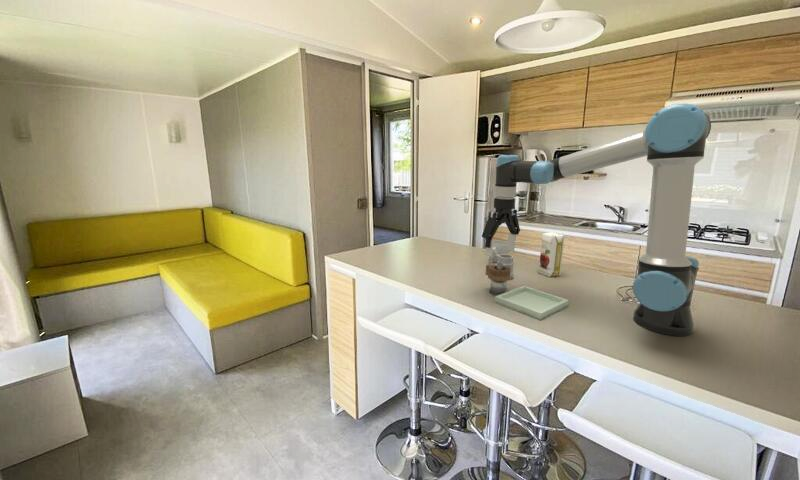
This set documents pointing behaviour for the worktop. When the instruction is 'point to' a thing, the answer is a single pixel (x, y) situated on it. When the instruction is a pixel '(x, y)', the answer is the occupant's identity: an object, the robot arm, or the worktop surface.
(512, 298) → the tray
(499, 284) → the grey bottle
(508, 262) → the mug
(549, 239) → the juice carton
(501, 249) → the mug
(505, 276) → the ring
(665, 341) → the worktop surface
